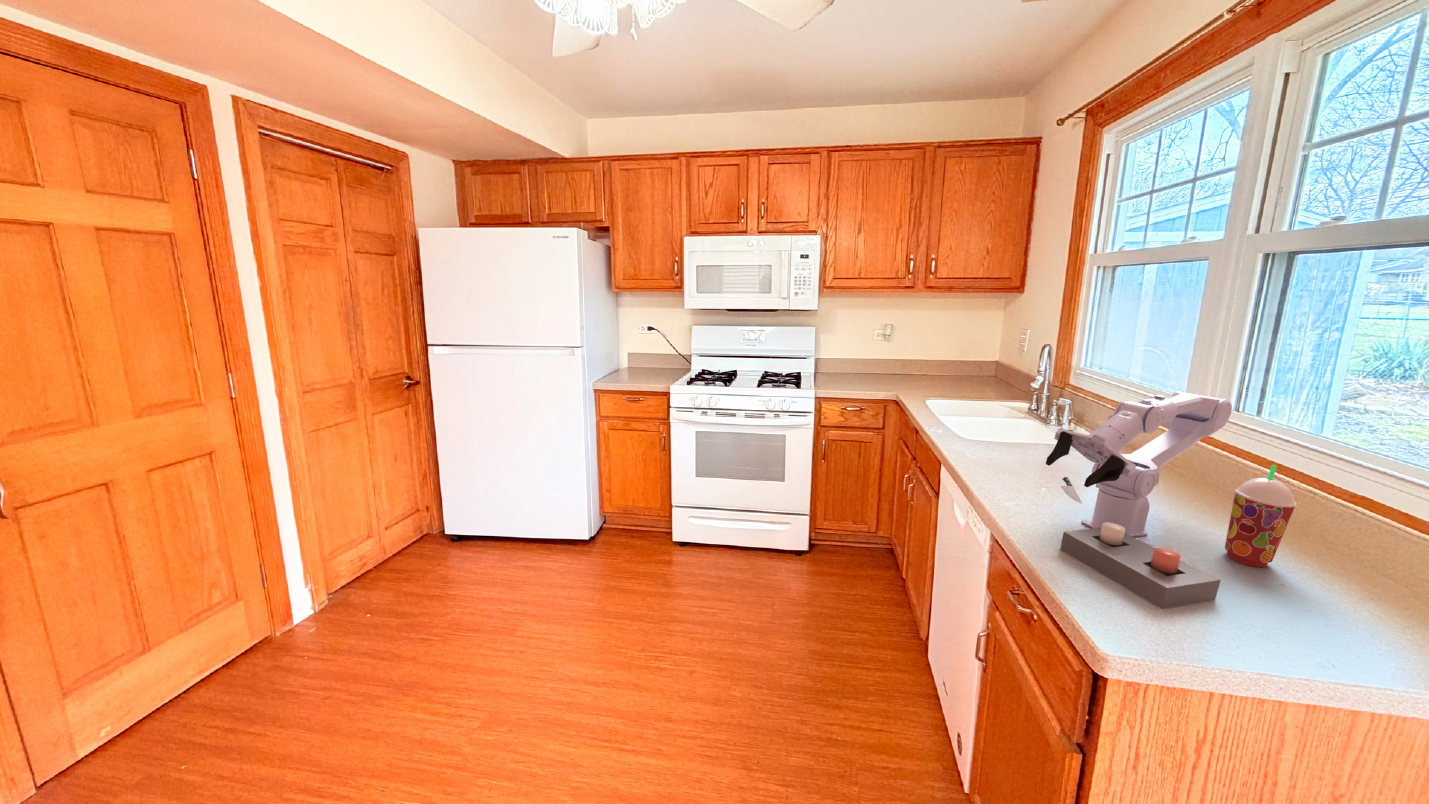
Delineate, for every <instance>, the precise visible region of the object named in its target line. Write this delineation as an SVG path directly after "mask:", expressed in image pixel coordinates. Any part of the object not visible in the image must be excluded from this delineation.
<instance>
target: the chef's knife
mask: <svg viewBox="0 0 1429 804" xmlns="http://www.w3.org/2000/svg"><path fill="white" fill-rule="evenodd" d="M1062 480H1064V481H1065V483H1066V484H1067V485H1061V486H1060V488H1061V489H1062V490H1063V491H1064V493H1065V492H1066V493H1065V494H1066V495H1067V496H1068V497H1069V498H1071V499H1072V500H1073V501H1075V502H1077V503H1079V504H1083V502H1082V500H1081V498H1080V496H1079V494H1078V492H1077V491H1076V489H1075V487H1074V485H1073V484H1072V482H1071V481H1070V479H1069V477H1067V476H1064V477H1063V478H1062Z"/></svg>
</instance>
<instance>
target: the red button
mask: <svg viewBox="0 0 1429 804" xmlns="http://www.w3.org/2000/svg"><path fill="white" fill-rule="evenodd" d="M1181 559H1182V555H1181V554H1179V552H1177V551H1175V550H1172V549H1169V548H1164V547H1155V549H1154V553H1153V557H1152V562H1151V566H1152V567H1153V568H1155V569H1157V570H1159V571H1162V572H1165V573H1170V574H1174V573H1177V570H1178V566H1179V562H1180V560H1181Z"/></svg>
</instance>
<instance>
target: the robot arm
mask: <svg viewBox="0 0 1429 804" xmlns="http://www.w3.org/2000/svg"><path fill="white" fill-rule="evenodd" d="M1232 410H1233V405H1232V402H1231V401H1230V400H1229V399H1227V398H1218V397H1213V396H1208V395H1207V396H1206V395H1201V394H1194V393H1189V392H1185V391H1182V390H1178V391H1174V392H1173V394H1172V395H1171V397H1170V398H1167V397H1166V396H1165V395H1161V394H1156V395H1153V397H1152V398H1148V399H1145V398H1144V399H1142V400H1141V401H1138V402H1134V401H1129V400H1127V401H1125V402H1122V401H1119V402H1118V403H1117V405H1116V406H1115V408H1114V410H1113V412H1112V413H1111V414H1110V415H1109V416H1108V418H1107V420H1106V421H1104V423H1102V424H1101V425H1099V426H1098V427H1097V428H1096V429H1094V430H1093V431H1092V432H1091V433H1089V434H1085V433H1079V432H1076V431H1071V430H1067V429H1065V428H1063V427H1061V428H1060V429H1058V430H1057V431H1056V432H1055V435H1054V440H1056V443H1055V446H1054V447H1053V449H1052V451H1051V453H1050V454H1048V456H1047V457H1046V460H1045V465H1047V466H1048V467H1049V466H1051V465H1053V464H1054V463H1055V462H1057V461H1058V460H1059V459H1061V458H1062V457H1065V456H1068V455H1069V454H1070V453H1069V452H1070V450H1071V447H1072V448H1073V449H1074V450H1075V451H1077V452H1078V453H1079V454H1080V455H1081V456H1083V457H1084V458H1085V459H1086V460H1088V461H1090V462H1091V463H1094V464H1093V466H1092V469H1091V474H1089V475H1088V476H1087V477H1086V479H1085V481H1084V484H1083V486H1084V487H1085V488H1089V487H1091V486H1094V485H1095V488H1097V489H1098V492H1097V496H1096V502H1095V505H1094V509H1093V514H1092V515H1093V516H1092V519H1084V520H1081V523H1082V524H1083V525H1086V526H1087V527H1089V528H1090V529H1091V528H1100V527H1102V524H1103V523H1106V522H1108V523H1114V524H1118V525H1120V526H1122V527H1124V528H1125V533H1126V534H1128V535H1130V536H1132V537H1134V538H1136V537H1143V536H1148V533H1149V532H1147V531H1145V528H1146V524H1147V519H1148V517H1149V516H1148V515H1149V512H1150V506H1151V505H1150V502H1149V499H1148V497H1147V496H1148V495H1150V494H1151V493H1152V491H1153V490H1154V488H1155V487H1157V485H1158V484H1159V481H1160V468H1162V467H1163V466H1165V465H1166V464H1168V463H1169V462H1171V461H1173V460H1174V459H1175V458H1177V457H1179V456H1180V455H1181V454H1184V452H1186V451H1187V450H1189V449H1191V448H1192V447H1193V446H1195V444H1197V443H1198V442H1199V441H1201V440H1202V439H1203V438H1205V437H1209V436H1212V435H1214V434H1215V433H1217V432H1218V431H1219V430H1221V429H1222V428H1224V427H1225V425H1226V424H1227V422H1228V420H1229V419H1230V416H1231V415H1232V412H1233V411H1232ZM1161 425H1163V426H1164V427H1165V428H1166V429H1167V430H1166V431H1165V432H1163V433H1162V434H1160V435H1158V436H1156V437H1155V438H1153V439H1152V440H1150V441H1149V442H1147V443H1146V444H1144V445H1142V446H1141V447H1140V448H1138V449H1136V450H1134V451H1133V452H1131V453H1119V451H1121V450H1122V449H1123V448H1125V447H1126V446H1127V445H1129V443H1131V442H1132V441H1134V440H1135V439H1136V438H1137V437H1138V436H1140V435H1141V434H1142V433H1143V434H1144V433H1145V434H1153V433H1155V432H1156V430H1157V429H1158V428H1159V427H1160V426H1161Z"/></svg>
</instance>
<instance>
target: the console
mask: <svg viewBox="0 0 1429 804" xmlns="http://www.w3.org/2000/svg"><path fill="white" fill-rule="evenodd" d="M1101 528H1102V527H1100V528H1091V527H1090V528H1084V529H1075V530H1066V531H1063V534H1062V538H1061V544H1060V551H1062V552H1064V553H1066V554H1067V555H1069V556H1070V557H1072V558H1073V559H1076V560H1077V561H1079V562H1081V563H1082V564H1084V565H1086V566H1088V567H1089V568H1091V569H1092V570H1094V571H1096V572H1098V573H1100V575H1102V576H1105V577H1106V578H1108V579H1110V580H1111V581H1113V582H1115V583H1116V584H1118V585H1119V586H1122V587H1124V588H1125V589H1127V590H1128V591H1130V592H1132V593H1134V594H1135V595H1137V596H1138V597H1140V598H1142V599H1144V600H1146V601H1147V602H1150V603H1151V604H1152V605H1155V606H1156V607H1158V608H1160V609H1161V610H1165V609H1170V608H1176V607H1182V606H1188V605H1189V606H1190V605H1194V604H1201V603H1207V602H1212V601H1216V599H1217V595H1218V591H1219V589H1220V588H1219V587H1220V585H1221V580H1222V579H1220V578H1219V577H1216V576H1214V575H1212V574H1210V573H1208V572H1206V571H1204V570H1201V569H1199V568H1198V567H1196V566H1193V565H1191V564H1189V563H1188V562H1185V561H1183V560H1181V559H1180V562H1179V566H1178V570H1177V573H1174V574H1170V573H1165V572H1162V571H1159V570H1157V569H1155V568H1153V567H1152V566H1151V562H1152V557H1153V553H1154V549H1155V548H1156V547H1154V546H1153V545H1150V544H1148V543H1146V542H1145V541H1142V540H1140V539H1138V538H1137V537H1132V536H1130V535H1128V534H1126V533H1124V538H1123V542H1122V545H1111V544H1108V543H1105V542H1103V541H1101V540H1100V533H1101Z"/></svg>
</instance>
